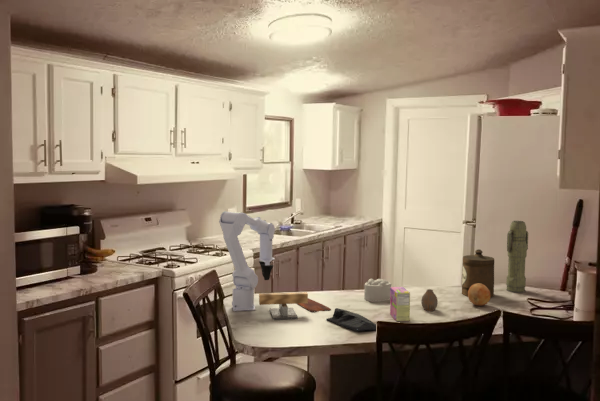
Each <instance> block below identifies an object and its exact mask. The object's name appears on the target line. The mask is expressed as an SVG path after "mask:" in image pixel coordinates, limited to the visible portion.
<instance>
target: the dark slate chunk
mask: <svg viewBox="0 0 600 401" xmlns="http://www.w3.org/2000/svg"><path fill="white" fill-rule="evenodd" d="M326 321H328V322H331V323H333V324H335V325H338V326H342V327H343V326H344V327H343V328H346V329H349V330H351V331H354V332H365V331H377V330H376V324H377V323H375V322H373V321H372V320H371V319H368V318H367V317H365V316H363V315H361V314H359V313H355V312H352V311H350V310H346V309H342V308H339V307H338V308H337V307H336V308H334V312H333V314H332V317H328V318H326Z"/></svg>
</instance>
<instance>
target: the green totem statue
mask: <svg viewBox="0 0 600 401" xmlns="http://www.w3.org/2000/svg"><path fill="white" fill-rule="evenodd" d="M510 223H511V224H510V226H509V230H508V232H507V235H506V236H507V238H506V239H507V241H506V251H507V256H508V260H507V262H508V265H507V275H506V282H505V285H506V291H508V292H510V293H517V294H518V293H519V294H520V293H525V292H526V279H527V278H526V275H525V274H526V258H527V253H528V252H527V251H528V249H529V248H528V247H529V232H528V230H527V225H526V222H525V221H522V220H513V221H511V222H510Z"/></svg>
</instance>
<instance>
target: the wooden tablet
mask: <svg viewBox="0 0 600 401" xmlns="http://www.w3.org/2000/svg"><path fill="white" fill-rule="evenodd" d="M297 305H298V306H301V307H302V308H304V309H305V310H307V311H309V312H311V313H318V312H328V311H331V310H332V308H330V307H329V306H326V305H324V304H323V303H320V302H319V301H316V300H314V299H312V298H309V297H308V303H301V304H297Z"/></svg>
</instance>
